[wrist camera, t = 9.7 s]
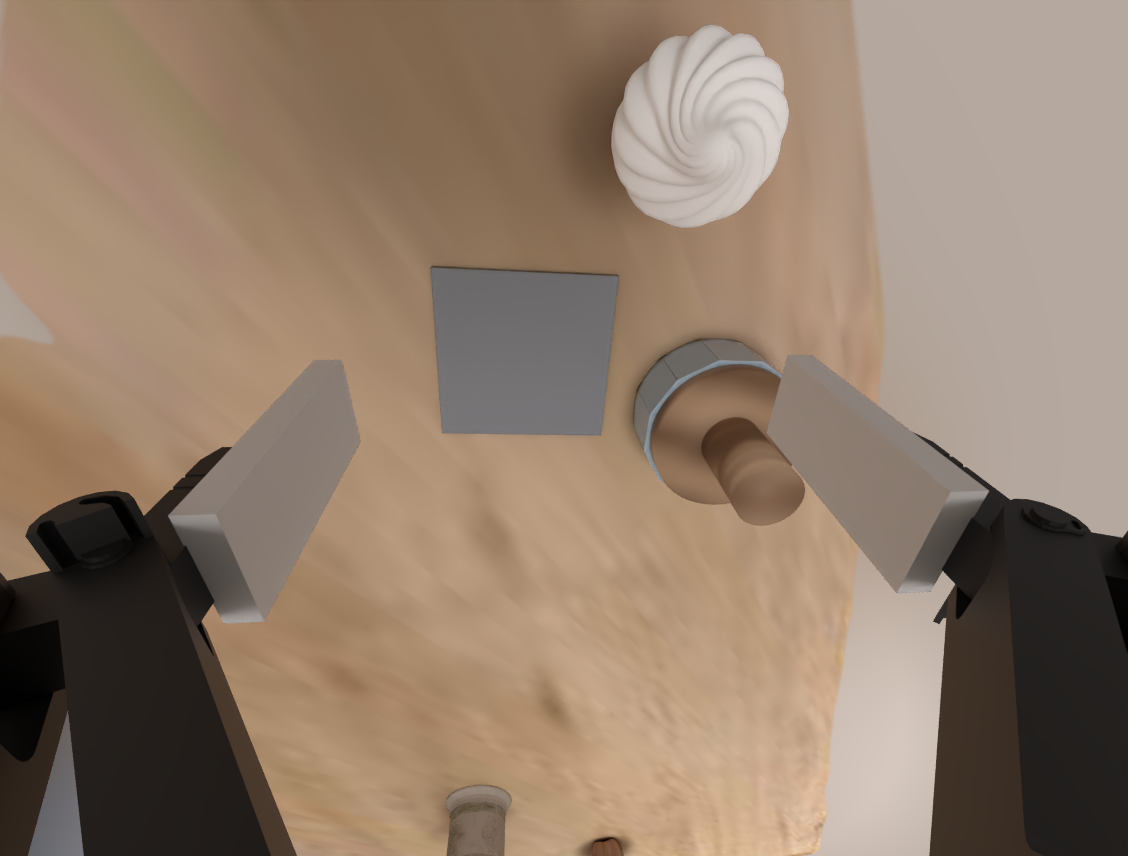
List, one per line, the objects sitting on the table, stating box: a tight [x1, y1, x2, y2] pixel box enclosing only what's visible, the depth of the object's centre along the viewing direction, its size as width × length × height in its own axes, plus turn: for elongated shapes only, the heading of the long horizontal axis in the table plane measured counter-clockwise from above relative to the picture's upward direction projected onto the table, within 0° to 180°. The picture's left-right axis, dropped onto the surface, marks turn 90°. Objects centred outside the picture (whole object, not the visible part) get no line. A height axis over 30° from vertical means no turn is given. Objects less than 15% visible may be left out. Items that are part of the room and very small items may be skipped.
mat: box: [431, 267, 619, 436], centre depth 40 cm, size 14×14×1 cm
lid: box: [650, 364, 805, 526], centre depth 36 cm, size 12×12×8 cm
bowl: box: [634, 339, 782, 482], centre depth 42 cm, size 12×12×5 cm
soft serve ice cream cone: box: [611, 25, 789, 228], centre depth 26 cm, size 8×8×16 cm
